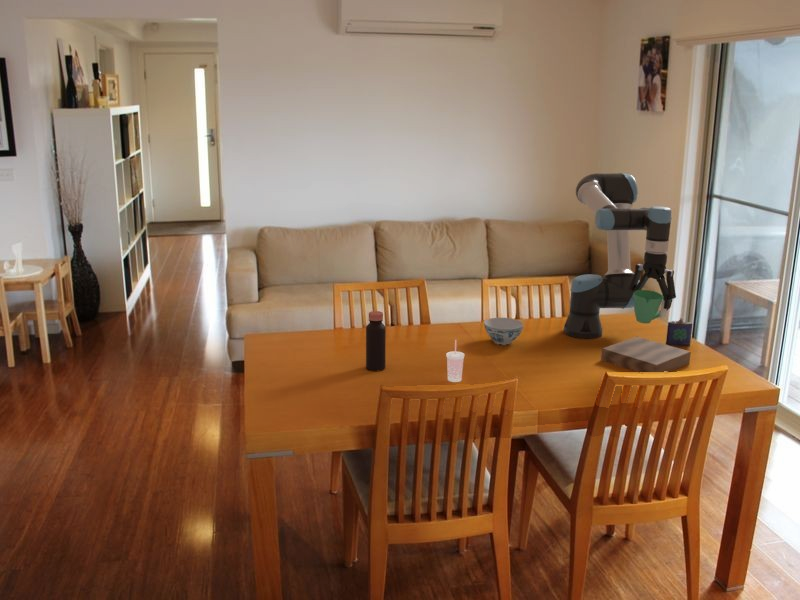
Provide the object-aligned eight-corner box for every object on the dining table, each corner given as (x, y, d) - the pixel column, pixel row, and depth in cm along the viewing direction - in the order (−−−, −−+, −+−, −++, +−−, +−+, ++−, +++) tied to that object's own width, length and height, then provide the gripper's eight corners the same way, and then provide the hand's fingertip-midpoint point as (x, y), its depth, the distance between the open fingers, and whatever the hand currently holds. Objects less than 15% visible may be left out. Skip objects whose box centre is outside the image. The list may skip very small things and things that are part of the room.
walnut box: (600, 361, 276) (602, 348, 275) (635, 349, 290) (637, 336, 288) (654, 378, 260) (656, 364, 258) (689, 364, 273) (690, 351, 272)
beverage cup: (462, 383, 252) (464, 343, 249) (444, 382, 254) (445, 342, 250) (464, 377, 258) (466, 337, 255) (446, 375, 259) (447, 336, 256)
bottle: (383, 364, 269) (384, 309, 264) (386, 371, 263) (387, 315, 258) (364, 365, 268) (364, 310, 263) (367, 372, 262) (367, 316, 257)
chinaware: (530, 344, 293) (531, 324, 291) (501, 351, 284) (502, 331, 282) (504, 333, 305) (505, 315, 302) (475, 340, 296) (476, 321, 294)
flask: (689, 343, 295) (692, 317, 292) (691, 346, 292) (694, 319, 289) (664, 343, 295) (667, 316, 292) (667, 345, 292) (669, 319, 289)
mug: (638, 326, 264) (643, 299, 261) (623, 316, 273) (628, 290, 269) (675, 325, 268) (680, 298, 264) (659, 314, 277) (664, 288, 273)
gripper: (622, 248, 270) (616, 309, 276) (679, 258, 253) (672, 323, 259) (634, 245, 274) (629, 305, 280) (691, 255, 258) (684, 319, 264)
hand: (649, 314), depth 270 cm, fingers closed on mug, 10 cm apart
